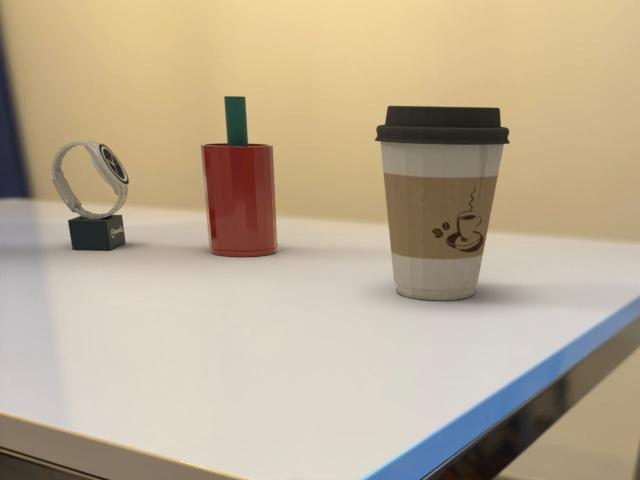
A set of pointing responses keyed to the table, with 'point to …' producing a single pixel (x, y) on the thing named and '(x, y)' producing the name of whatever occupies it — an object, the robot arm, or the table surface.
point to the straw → (236, 120)
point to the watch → (91, 227)
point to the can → (240, 199)
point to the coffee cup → (439, 195)
